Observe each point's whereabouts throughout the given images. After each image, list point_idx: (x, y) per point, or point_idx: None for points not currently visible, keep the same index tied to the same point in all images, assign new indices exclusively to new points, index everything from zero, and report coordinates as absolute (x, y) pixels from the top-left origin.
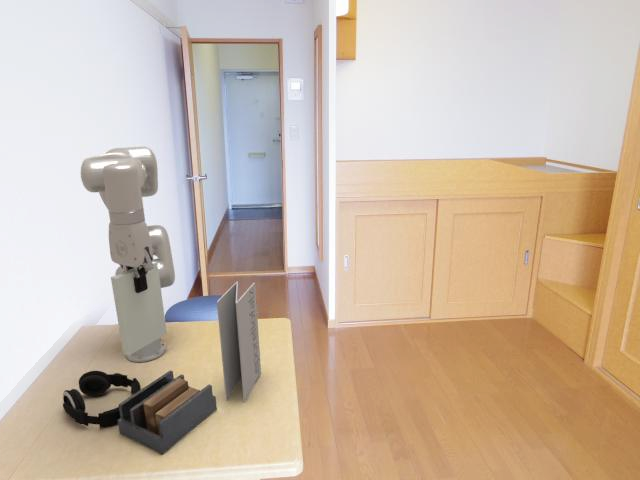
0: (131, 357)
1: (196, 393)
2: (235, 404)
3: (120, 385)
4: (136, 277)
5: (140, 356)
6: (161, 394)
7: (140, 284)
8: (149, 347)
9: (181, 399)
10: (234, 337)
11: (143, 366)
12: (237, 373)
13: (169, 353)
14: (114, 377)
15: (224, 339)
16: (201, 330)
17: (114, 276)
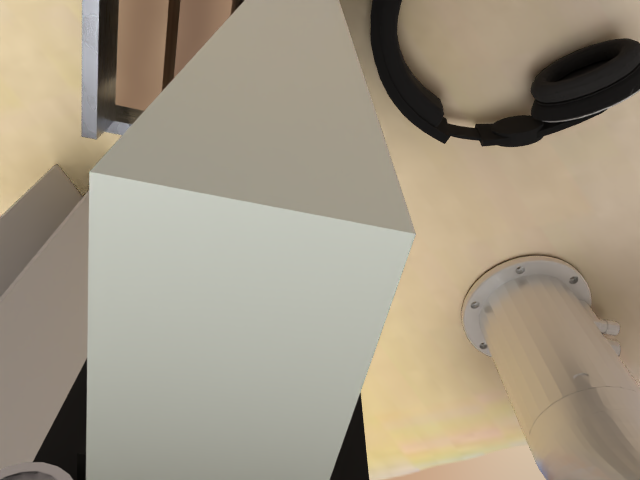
0: (552, 266)
1: (116, 87)
2: (76, 151)
3: (499, 121)
4: (46, 474)
5: (523, 277)
6: (208, 12)
7: (79, 385)
8: (502, 309)
9: (140, 33)
10: (82, 355)
11: (491, 243)
12: None
13: (444, 318)
14: (527, 127)
15: (29, 305)
16: (411, 432)
17: (326, 308)
